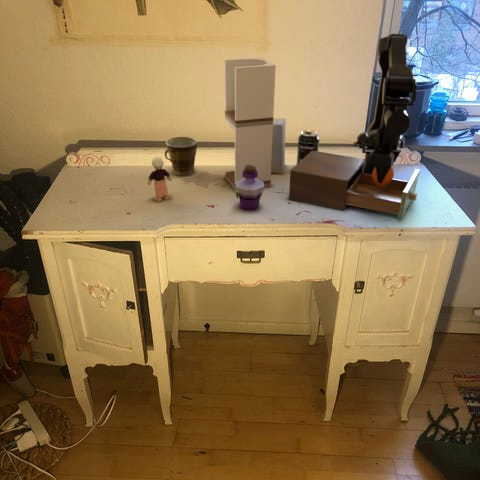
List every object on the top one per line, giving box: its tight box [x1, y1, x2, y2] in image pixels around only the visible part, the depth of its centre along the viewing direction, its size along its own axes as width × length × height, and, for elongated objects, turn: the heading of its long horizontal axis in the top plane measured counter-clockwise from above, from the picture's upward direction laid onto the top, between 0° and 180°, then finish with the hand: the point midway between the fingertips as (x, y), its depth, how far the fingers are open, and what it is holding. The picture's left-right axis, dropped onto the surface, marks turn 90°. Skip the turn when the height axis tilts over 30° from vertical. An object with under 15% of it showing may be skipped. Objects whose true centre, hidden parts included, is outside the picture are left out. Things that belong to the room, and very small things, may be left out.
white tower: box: [223, 57, 277, 192], centre depth 157 cm, size 11×11×35 cm
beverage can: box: [296, 129, 320, 165], centre depth 174 cm, size 7×7×12 cm
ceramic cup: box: [164, 136, 198, 176], centre depth 171 cm, size 13×10×10 cm
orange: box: [371, 166, 395, 187], centre depth 151 cm, size 6×6×6 cm
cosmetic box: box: [271, 117, 287, 175], centre depth 172 cm, size 8×7×16 cm
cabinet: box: [288, 150, 365, 211], centre depth 159 cm, size 19×17×9 cm
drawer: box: [345, 168, 421, 219], centre depth 153 cm, size 18×18×8 cm
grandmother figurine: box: [146, 156, 173, 202], centre depth 154 cm, size 8×4×13 cm, turn 134°
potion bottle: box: [235, 165, 265, 212], centre depth 150 cm, size 9×9×12 cm
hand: (382, 178), depth 152 cm, fingers closed on orange, 6 cm apart
